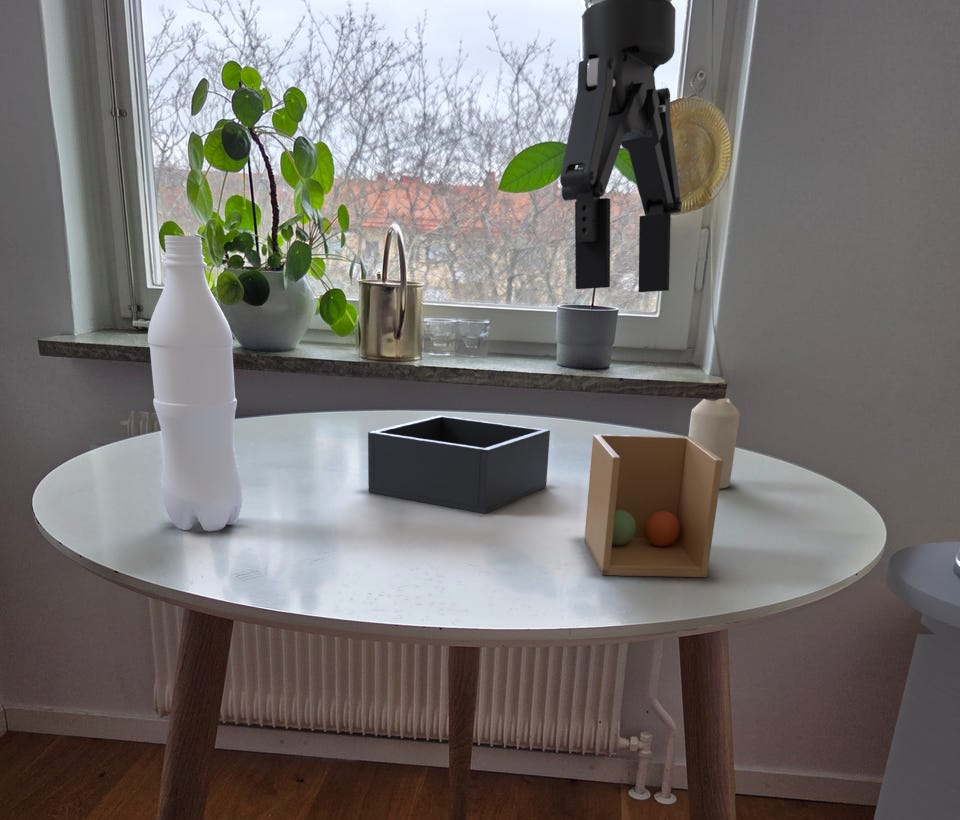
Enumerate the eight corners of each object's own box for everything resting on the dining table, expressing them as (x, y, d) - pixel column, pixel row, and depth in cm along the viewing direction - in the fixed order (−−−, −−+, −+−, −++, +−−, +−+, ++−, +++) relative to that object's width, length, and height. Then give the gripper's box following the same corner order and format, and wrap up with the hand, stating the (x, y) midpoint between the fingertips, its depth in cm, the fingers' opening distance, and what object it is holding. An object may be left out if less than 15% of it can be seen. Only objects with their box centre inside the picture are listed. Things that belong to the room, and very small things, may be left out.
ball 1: (639, 543, 86) (643, 509, 84) (626, 552, 83) (630, 517, 82) (607, 537, 87) (610, 504, 86) (593, 545, 84) (596, 511, 83)
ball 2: (682, 544, 86) (686, 510, 85) (671, 553, 83) (675, 518, 82) (649, 538, 87) (653, 505, 86) (637, 546, 85) (641, 512, 84)
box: (584, 540, 88) (593, 434, 84) (678, 543, 88) (691, 437, 85) (602, 575, 79) (613, 457, 75) (706, 577, 79) (723, 460, 75)
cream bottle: (712, 477, 115) (723, 394, 112) (738, 487, 111) (751, 401, 107) (673, 479, 114) (684, 395, 110) (699, 490, 109) (711, 402, 105)
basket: (546, 487, 107) (550, 430, 105) (485, 513, 96) (487, 450, 93) (438, 469, 114) (439, 415, 111) (368, 492, 102) (367, 432, 99)
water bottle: (166, 515, 90) (140, 234, 81) (242, 513, 92) (226, 237, 82) (163, 536, 84) (134, 234, 74) (245, 533, 86) (228, 238, 76)
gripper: (641, 51, 87) (638, 294, 93) (510, -29, 66) (518, 289, 73) (721, 35, 83) (712, 290, 89) (608, -55, 63) (607, 283, 69)
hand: (625, 290), depth 81 cm, fingers open, 13 cm apart
